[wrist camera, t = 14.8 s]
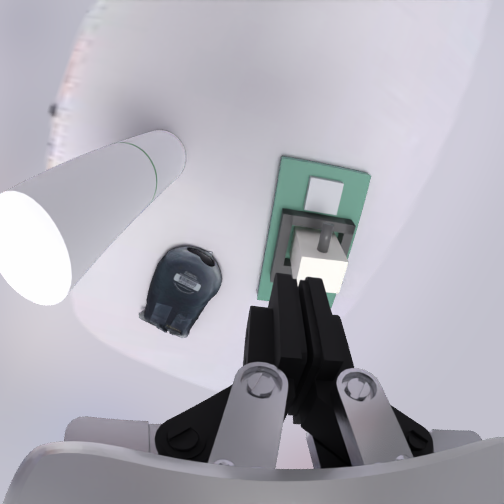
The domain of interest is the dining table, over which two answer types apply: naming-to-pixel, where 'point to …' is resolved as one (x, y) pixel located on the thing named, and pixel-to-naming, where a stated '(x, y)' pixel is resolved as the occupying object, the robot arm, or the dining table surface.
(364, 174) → the circuit board
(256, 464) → the robot arm
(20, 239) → the cylindrical container
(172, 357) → the dining table surface
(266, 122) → the dining table surface
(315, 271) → the keyed plug
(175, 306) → the electronic device
